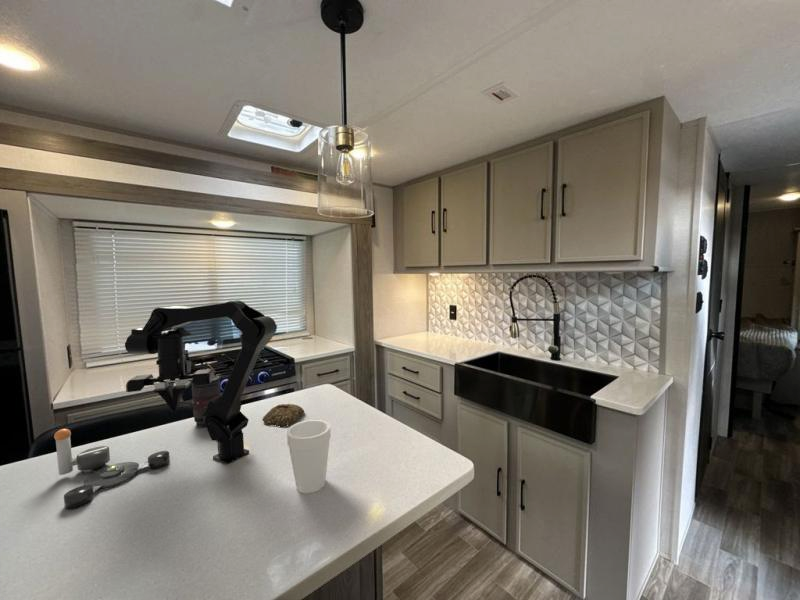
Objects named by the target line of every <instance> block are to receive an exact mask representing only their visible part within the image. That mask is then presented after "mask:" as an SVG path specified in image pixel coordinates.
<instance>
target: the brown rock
mask: <svg viewBox="0 0 800 600" xmlns="http://www.w3.org/2000/svg"><path fill="white" fill-rule="evenodd" d="M303 413H304V414H305V410H304V408H302V407H301V406H300V405H297V404H294V403H286V404H285V403H281V404H278V405H276V406H274V407H272V408H271V409H270V410H269V411H267V413H266V414H265V415H264V416H263V417H262V422H263V421H264V422H263V424H264V425H265V424H267V425H266V426H268V425H276V426H275V427H277V426H287V425H289V426H291V425H293V424H295V423H297V422H298V421H299V420H300V419H301V418H302V417H303V415H304V414H303ZM297 420H298V421H297ZM294 422H295V423H294ZM292 423H293V424H292ZM290 424H291V425H290ZM287 427H288V426H287Z"/></svg>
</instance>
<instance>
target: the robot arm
mask: <svg viewBox="0 0 800 600" xmlns="http://www.w3.org/2000/svg"><path fill="white" fill-rule="evenodd" d="M225 317H227V318H229V319H230V320H231V323H233V325H234V326H235V328H237V329H238V330H239V331H240V332H241V335H240V342H241V343H240V344H241V349H240V351H239V354H238V356H237V359H236V361H235V363H234V365H233V367H232V370H231V372H230V374H229V377H228V379H227V381H226V384H225V386H224V388H223V390H222V393H221V394H220V396H218V397H217V398H215V399H213V400H211V401H210V402H209V403H208V406H207V410H206V412H205V413H204V414H203V416H205V418H204V424H205V426H206V427H205V428H206V429H207V432H208V434H209V437H210V439H211V441H214V442H216V443H217V452H218V453H217V454H214V455H213V456H212V460H216V461H218V462H222V463H224V464H226V465H229V464H231V463H233V462H235V461H236V460H238V459H240V458H242V457H244V456H246V455H247V454H249V453H250V450H249V449H247V448H245V446H244V445H245V443H244V442H245V441H244V432H243V430H244V429H245V428H246V427H247V426H248V424H249V418H248V417H247V416H246V415H245V414H244V413H243V412H241V408H242V401H241V397H242V396H243V395H242V394H243V393H244V391H245V388H246V386H247V384H248V381H249V380H250V377H251V374H252V372H253V370H254V367H255V365H256V363H257V360H258V358H259V356H260V354H261V352H262V351H263V349H264V348H265V347H266V346H267V345H268V344H269V342H270V341H271V340H272V338H273V336H274V335H275V333H276V332H277V329H278V325H277V323H276V321H275V320H274V319H273V318H271V316H267V315H265V314H263V313H262V312H261V311H259V310H257V309H255V308H253V307H252V306H251V307H250V306H249V305H248V304H246V303H245V302H244V301H242V300H240V299H239V300H230V301H227V302H222V303H215V304H214V303H213V304H207V305H201V306H195V307H193V306H187V305H186V306H185V305H183V306H181V305H173V306H172V305H171V306H164V307H157V308H154V309H153V310H152V311H151V314H150V317H148V318H149V319H148V320H147V322H146V323H145V325H144V326H143V328H141V327H139V328H133V329H131V330H130V332H131V334H130V335H128V336H127V338H126V341H125V343H124V347H125V350H126V351H127V353H129V354H131V355H155V354H157V360H156V361H155V363H156V366H157V365H158V376H157V377H154V375H153V373H152V374H151V373H150V374H141V375H135V376H134V377H132V378H130V379H129V380H128V381H127V382H126V384H125V390H126V393H133V392H141V391H142V390H143V389H144V388H145V387H147V386H154V389H153V391H152V392H153V393H154V394H155V393H157V394H158V395H159V396H160V397H161V398H162V399H163V400H164V402H165V403H166V405H167V407H168V408H169V409H170V411H171V412H172V413H176V412H177V411H178V409H179V406H180V402H181V399H182V396H183V393H184V391H185V390H187V388H189V387H190V386H191V385H192V381H193V383H194V384H195V385H203V384H209V383H211V381H212V380H213V379H214V376H215V371H214V370H213V369H212V368H207V369H206V368H205V369H198V370H196V371H195V372H194V373H192V374H190V373H191V371H192V361H191V360H187V359H186V355H185V352H184V338H185V337H188V336H191V335H192V334H191V332H189V331H188V330H186V329H185V328H184V327H182V326H185V325H186V326H187V325H189V324H191V323H193V322H198V321H205V320H212V319H219V318H225ZM175 328H176V329H175ZM173 329H175V330H173ZM174 384H175V385H174Z"/></svg>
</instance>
